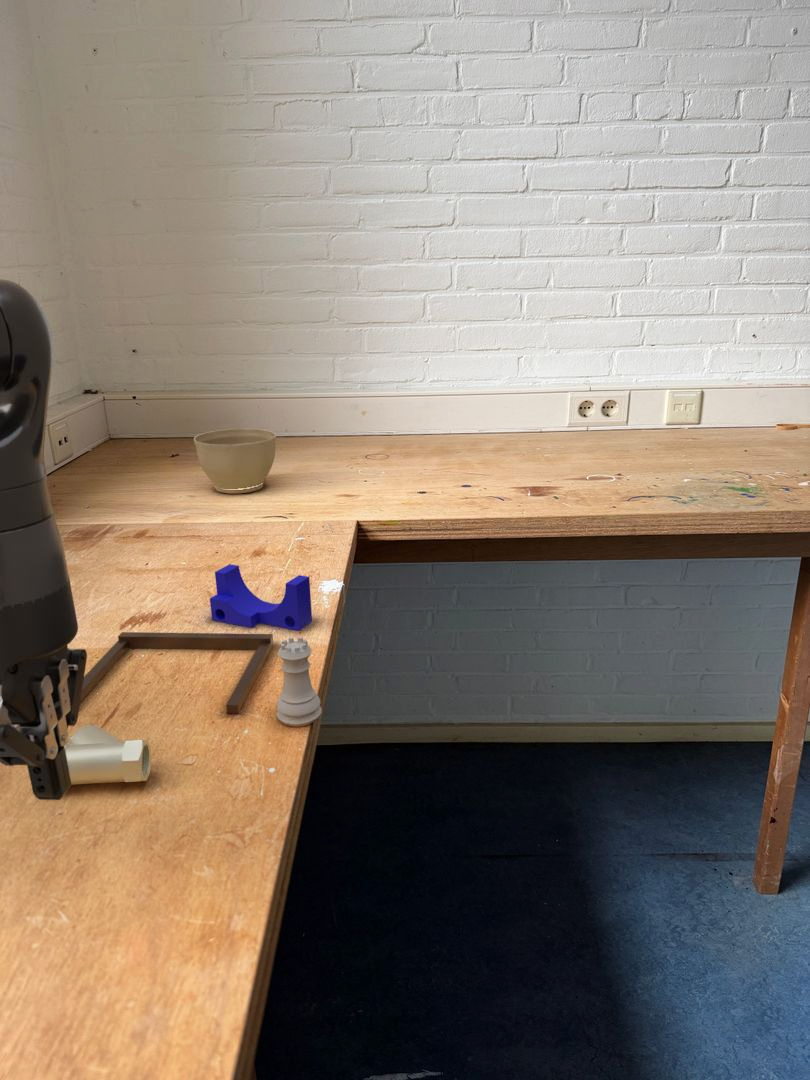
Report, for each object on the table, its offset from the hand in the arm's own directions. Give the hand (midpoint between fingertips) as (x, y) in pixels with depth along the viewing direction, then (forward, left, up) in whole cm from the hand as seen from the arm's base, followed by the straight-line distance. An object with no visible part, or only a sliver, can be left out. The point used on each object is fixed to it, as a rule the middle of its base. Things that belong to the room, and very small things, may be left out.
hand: (53, 793), depth 61 cm
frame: (0, +26, -4) cm, 26 cm away
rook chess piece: (+15, +19, -5) cm, 24 cm away
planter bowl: (-15, +105, -5) cm, 106 cm away
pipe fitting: (0, +9, -5) cm, 10 cm away
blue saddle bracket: (+6, +41, -5) cm, 42 cm away
